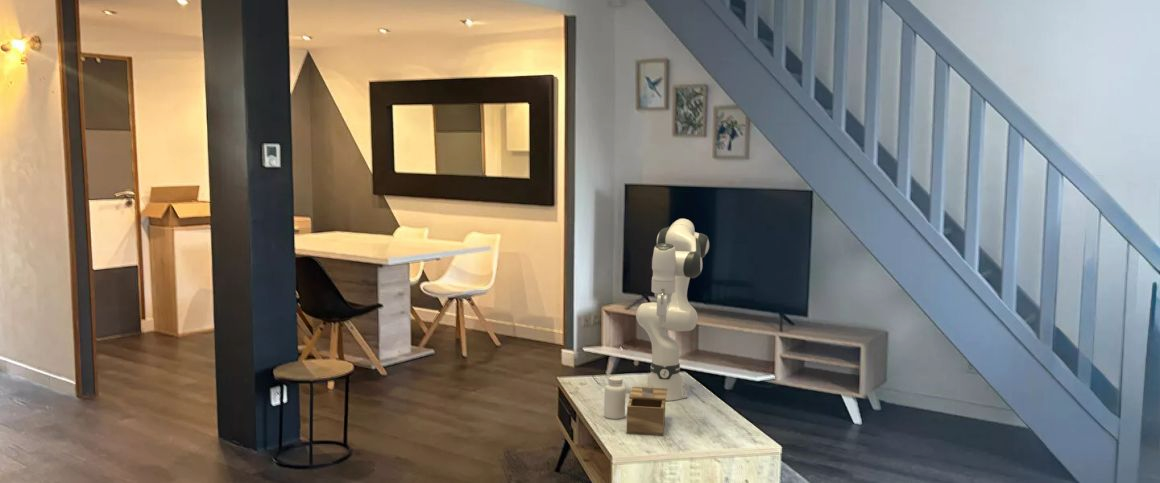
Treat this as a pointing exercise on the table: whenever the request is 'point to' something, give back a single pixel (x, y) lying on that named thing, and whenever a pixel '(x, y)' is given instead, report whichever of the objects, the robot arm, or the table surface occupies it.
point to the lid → (648, 393)
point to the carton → (645, 417)
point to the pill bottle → (614, 399)
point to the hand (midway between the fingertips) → (662, 324)
